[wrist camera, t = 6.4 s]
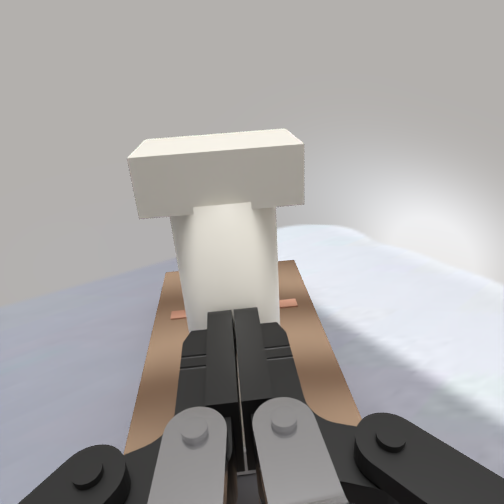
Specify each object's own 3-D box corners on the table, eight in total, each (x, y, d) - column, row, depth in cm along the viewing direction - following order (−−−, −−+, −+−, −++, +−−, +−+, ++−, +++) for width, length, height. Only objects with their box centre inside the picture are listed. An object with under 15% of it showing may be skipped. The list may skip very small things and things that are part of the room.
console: (541, 943, 8) (602, 919, 6) (31, 1048, 7) (-46, 1049, 6) (294, 286, 31) (293, 246, 30) (170, 298, 30) (163, 258, 29)
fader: (307, 466, 14) (307, 146, 9) (189, 481, 14) (123, 161, 9) (289, 393, 18) (283, 126, 12) (194, 404, 17) (147, 137, 12)
